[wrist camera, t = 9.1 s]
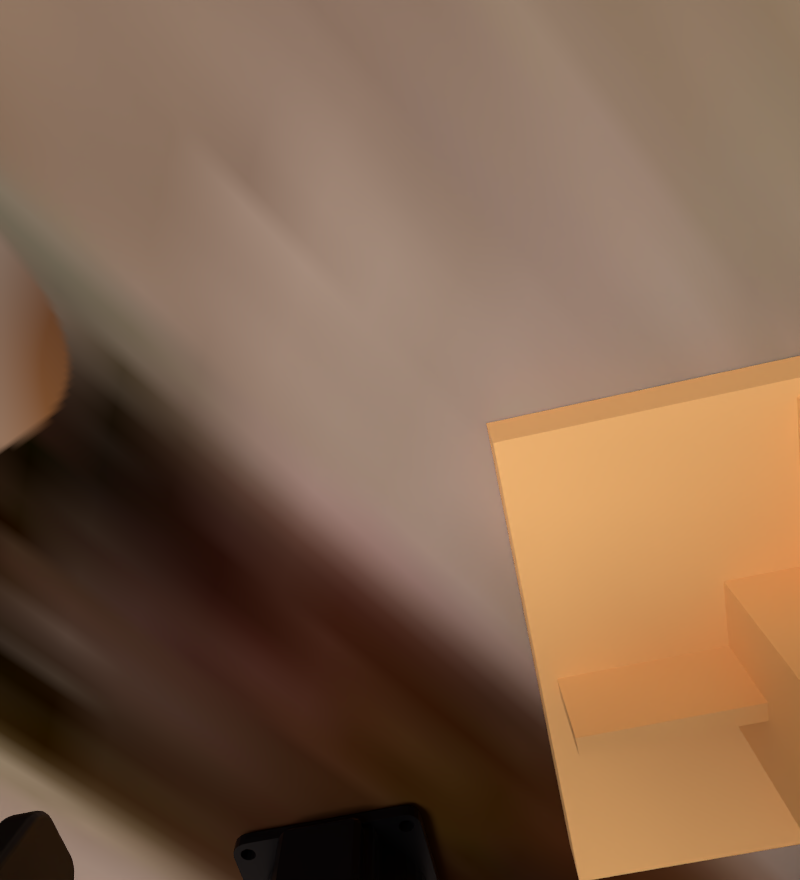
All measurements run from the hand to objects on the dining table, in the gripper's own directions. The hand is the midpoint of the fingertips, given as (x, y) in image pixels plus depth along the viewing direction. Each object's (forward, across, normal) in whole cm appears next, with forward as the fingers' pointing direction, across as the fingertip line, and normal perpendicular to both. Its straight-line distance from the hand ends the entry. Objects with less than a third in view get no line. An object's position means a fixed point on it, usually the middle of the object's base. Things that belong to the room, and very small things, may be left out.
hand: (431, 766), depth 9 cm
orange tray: (+13, -10, +9) cm, 19 cm away
